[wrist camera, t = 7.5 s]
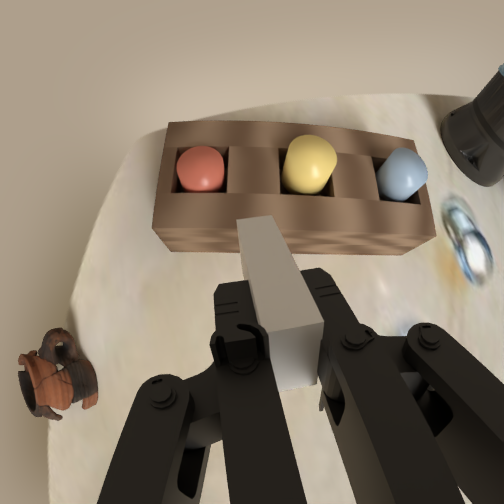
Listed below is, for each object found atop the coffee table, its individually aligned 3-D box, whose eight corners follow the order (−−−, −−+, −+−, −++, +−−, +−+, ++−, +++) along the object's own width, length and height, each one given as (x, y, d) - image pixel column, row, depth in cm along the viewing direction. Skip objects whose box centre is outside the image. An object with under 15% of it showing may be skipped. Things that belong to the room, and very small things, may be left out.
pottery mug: (101, 426, 28) (45, 440, 20) (65, 387, 32) (16, 393, 25) (108, 341, 28) (39, 345, 20) (70, 309, 32) (14, 307, 25)
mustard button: (322, 162, 30) (333, 137, 25) (326, 199, 28) (339, 177, 24) (280, 159, 29) (286, 133, 25) (282, 197, 28) (289, 174, 24)
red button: (226, 169, 31) (224, 145, 27) (224, 206, 30) (222, 185, 26) (186, 169, 31) (179, 146, 27) (182, 205, 30) (173, 185, 26)
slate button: (403, 171, 30) (421, 151, 26) (410, 206, 29) (432, 188, 24) (370, 167, 30) (386, 144, 25) (376, 203, 29) (395, 183, 24)
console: (387, 171, 37) (413, 140, 30) (401, 255, 34) (436, 235, 26) (180, 161, 36) (168, 122, 28) (170, 251, 33) (151, 228, 25)
